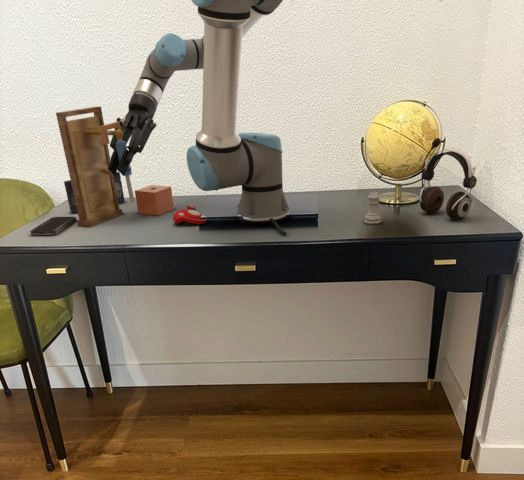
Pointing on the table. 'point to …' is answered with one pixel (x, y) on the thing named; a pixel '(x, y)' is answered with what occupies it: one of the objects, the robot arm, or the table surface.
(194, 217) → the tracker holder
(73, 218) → the phone
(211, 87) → the robot arm
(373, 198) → the rook chess piece
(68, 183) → the vhs cassette tape
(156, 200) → the stand
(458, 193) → the headset
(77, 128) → the door
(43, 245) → the table surface
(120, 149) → the umbrella
